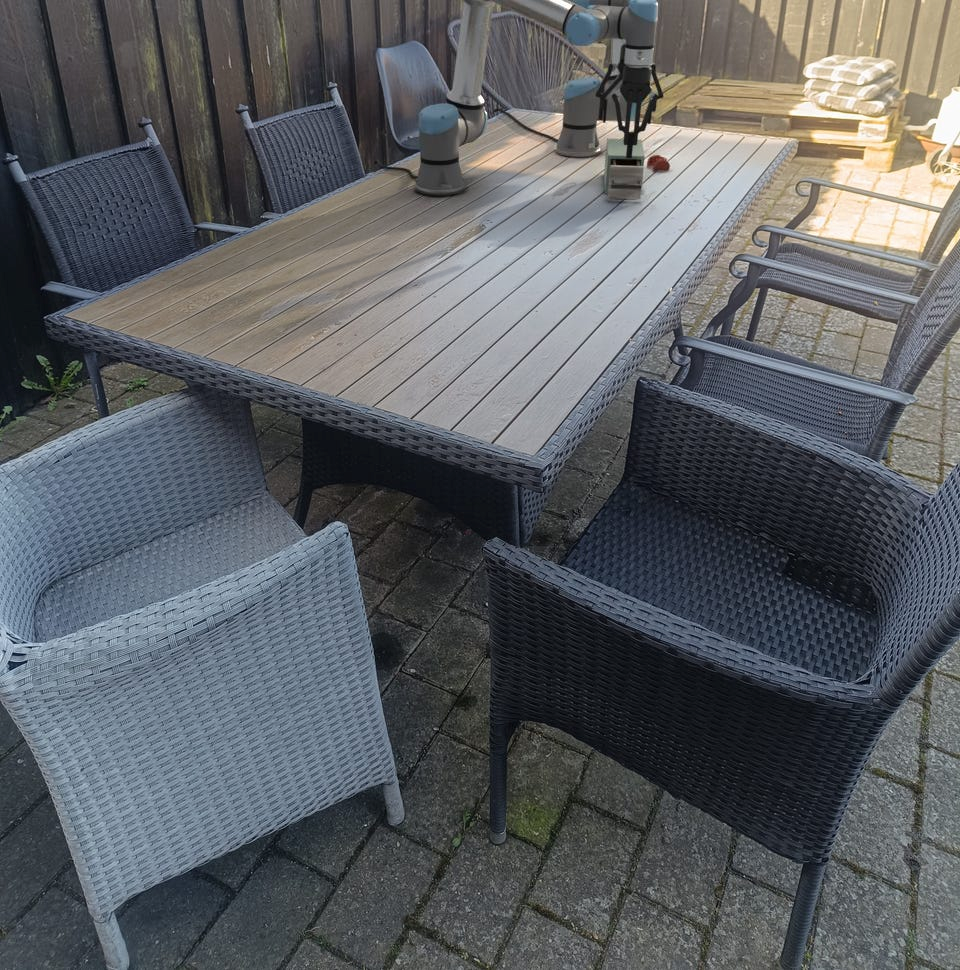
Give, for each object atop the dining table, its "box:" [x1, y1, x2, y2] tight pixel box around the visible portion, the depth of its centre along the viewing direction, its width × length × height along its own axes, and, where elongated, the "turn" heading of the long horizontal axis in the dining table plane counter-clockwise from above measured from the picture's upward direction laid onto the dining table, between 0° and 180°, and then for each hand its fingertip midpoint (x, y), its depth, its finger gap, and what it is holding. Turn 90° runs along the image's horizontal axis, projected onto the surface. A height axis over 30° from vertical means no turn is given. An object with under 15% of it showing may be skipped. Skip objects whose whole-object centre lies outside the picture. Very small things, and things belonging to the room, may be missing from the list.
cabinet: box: [603, 138, 646, 194], centre depth 260 cm, size 20×11×11 cm, turn 174°
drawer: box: [607, 159, 645, 200], centre depth 251 cm, size 24×10×9 cm, turn 174°
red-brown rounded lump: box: [646, 154, 671, 172], centre depth 276 cm, size 6×4×8 cm
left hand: (628, 156), depth 239 cm, fingers closed
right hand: (626, 122), depth 258 cm, fingers open, 13 cm apart
